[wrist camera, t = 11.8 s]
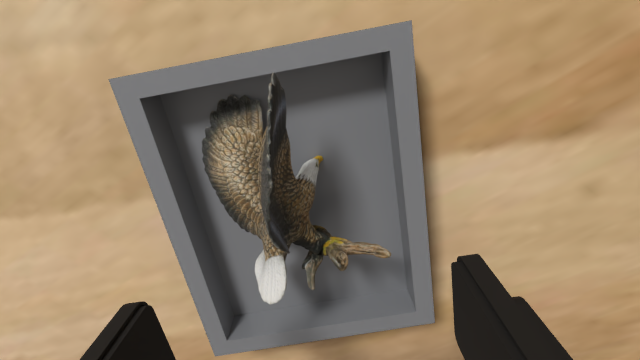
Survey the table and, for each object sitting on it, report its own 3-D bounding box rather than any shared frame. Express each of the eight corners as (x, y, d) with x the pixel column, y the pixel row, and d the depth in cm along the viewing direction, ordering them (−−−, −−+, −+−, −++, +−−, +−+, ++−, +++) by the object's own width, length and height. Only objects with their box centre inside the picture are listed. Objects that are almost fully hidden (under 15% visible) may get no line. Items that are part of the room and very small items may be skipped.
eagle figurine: (409, 190, 17) (309, 36, 13) (375, 325, 13) (208, 156, 9) (302, 210, 22) (204, 101, 18) (251, 313, 18) (104, 200, 14)
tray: (395, 26, 17) (411, 20, 14) (419, 288, 22) (434, 322, 20) (141, 75, 17) (108, 79, 15) (227, 319, 23) (214, 356, 20)
